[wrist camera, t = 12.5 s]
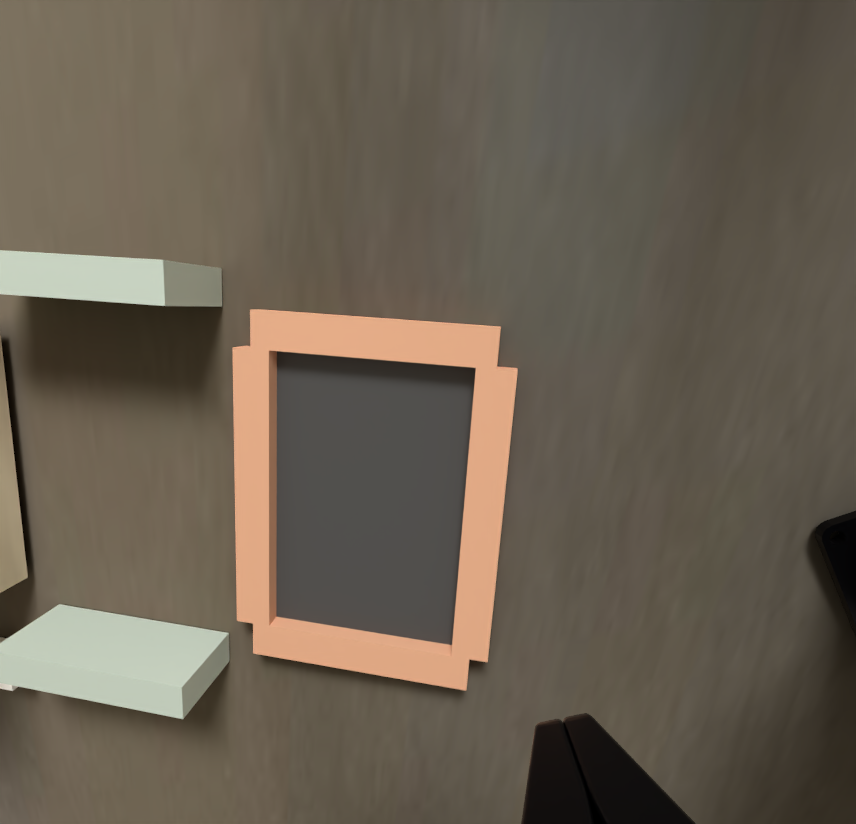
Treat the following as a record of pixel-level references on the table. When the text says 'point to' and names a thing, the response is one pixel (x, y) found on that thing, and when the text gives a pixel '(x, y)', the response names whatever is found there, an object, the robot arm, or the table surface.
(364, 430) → the frame
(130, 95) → the table surface
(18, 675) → the sage guide walls
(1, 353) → the maple block
